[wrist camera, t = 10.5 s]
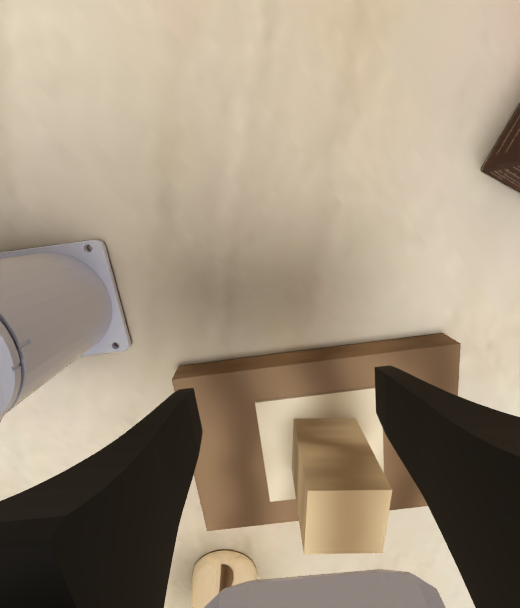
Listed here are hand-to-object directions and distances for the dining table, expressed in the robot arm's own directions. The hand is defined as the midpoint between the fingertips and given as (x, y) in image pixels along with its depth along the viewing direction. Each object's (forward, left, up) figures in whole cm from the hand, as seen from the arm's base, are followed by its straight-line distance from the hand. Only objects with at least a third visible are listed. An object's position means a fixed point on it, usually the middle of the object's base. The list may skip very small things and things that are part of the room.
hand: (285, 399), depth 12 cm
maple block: (+3, -10, -8) cm, 13 cm away
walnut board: (+3, -10, -10) cm, 15 cm away
